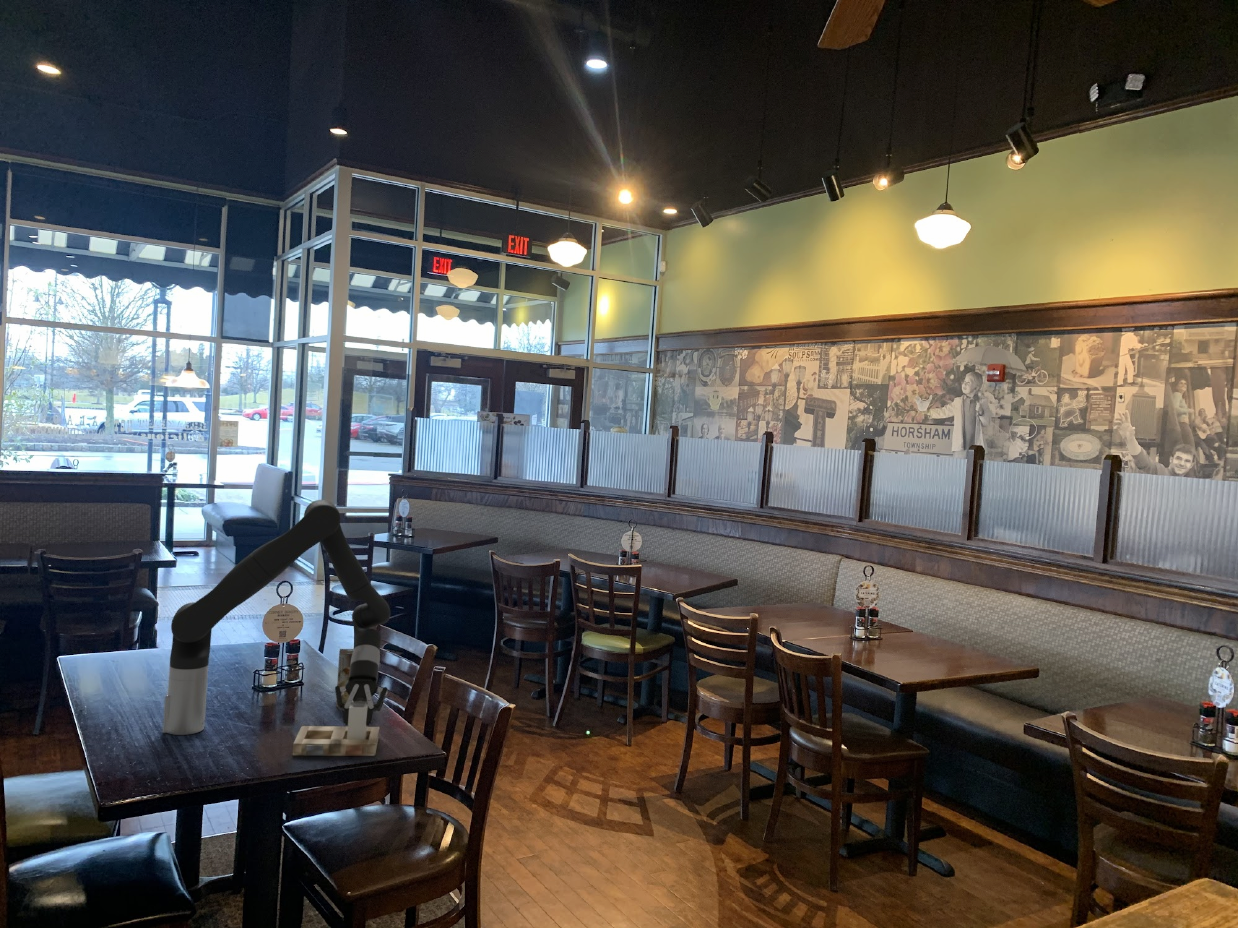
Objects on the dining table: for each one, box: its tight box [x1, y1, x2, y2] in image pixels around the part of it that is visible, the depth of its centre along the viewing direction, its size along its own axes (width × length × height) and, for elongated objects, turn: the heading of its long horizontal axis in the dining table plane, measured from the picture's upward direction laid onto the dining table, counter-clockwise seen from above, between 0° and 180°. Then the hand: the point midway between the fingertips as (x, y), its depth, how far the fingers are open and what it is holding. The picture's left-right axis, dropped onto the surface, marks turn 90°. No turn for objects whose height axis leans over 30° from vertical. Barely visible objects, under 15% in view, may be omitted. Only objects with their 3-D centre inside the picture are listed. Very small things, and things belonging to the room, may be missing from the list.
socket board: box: [292, 725, 380, 757], centre depth 226 cm, size 20×14×3 cm
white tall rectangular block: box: [347, 701, 368, 740], centre depth 227 cm, size 4×4×10 cm
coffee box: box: [335, 648, 367, 708], centre depth 261 cm, size 9×6×16 cm
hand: (357, 723), depth 225 cm, fingers open, 4 cm apart
